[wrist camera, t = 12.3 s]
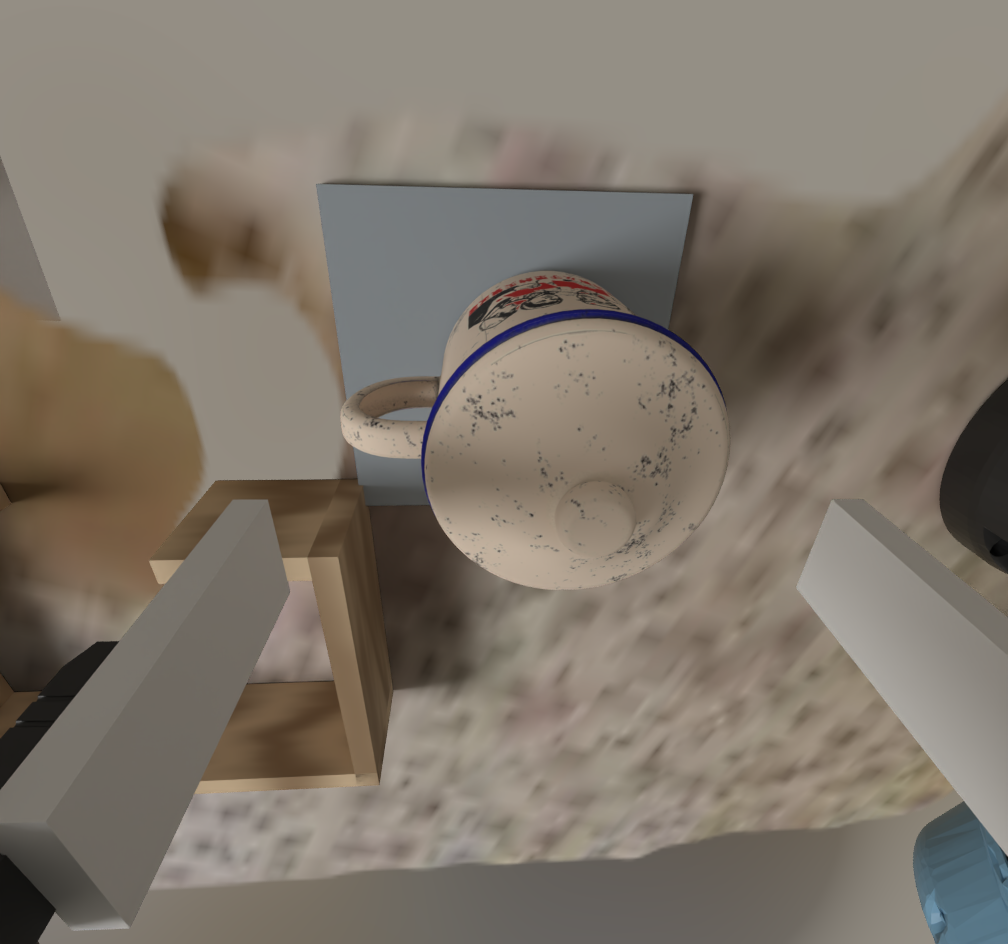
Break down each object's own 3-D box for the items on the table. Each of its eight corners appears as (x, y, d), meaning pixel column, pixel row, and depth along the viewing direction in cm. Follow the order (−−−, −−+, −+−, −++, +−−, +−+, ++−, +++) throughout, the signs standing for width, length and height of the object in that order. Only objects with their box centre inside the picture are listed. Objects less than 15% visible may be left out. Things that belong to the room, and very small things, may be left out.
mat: (687, 193, 20) (693, 194, 19) (632, 496, 27) (635, 502, 26) (320, 183, 19) (316, 183, 18) (363, 499, 26) (361, 505, 25)
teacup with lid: (662, 267, 20) (851, 353, 10) (623, 464, 25) (728, 657, 15) (359, 252, 19) (241, 331, 9) (377, 459, 24) (309, 662, 14)
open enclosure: (365, 479, 25) (337, 556, 20) (393, 691, 33) (379, 785, 28) (-164, 484, 24) (-342, 569, 18) (2, 705, 32) (-88, 807, 27)
